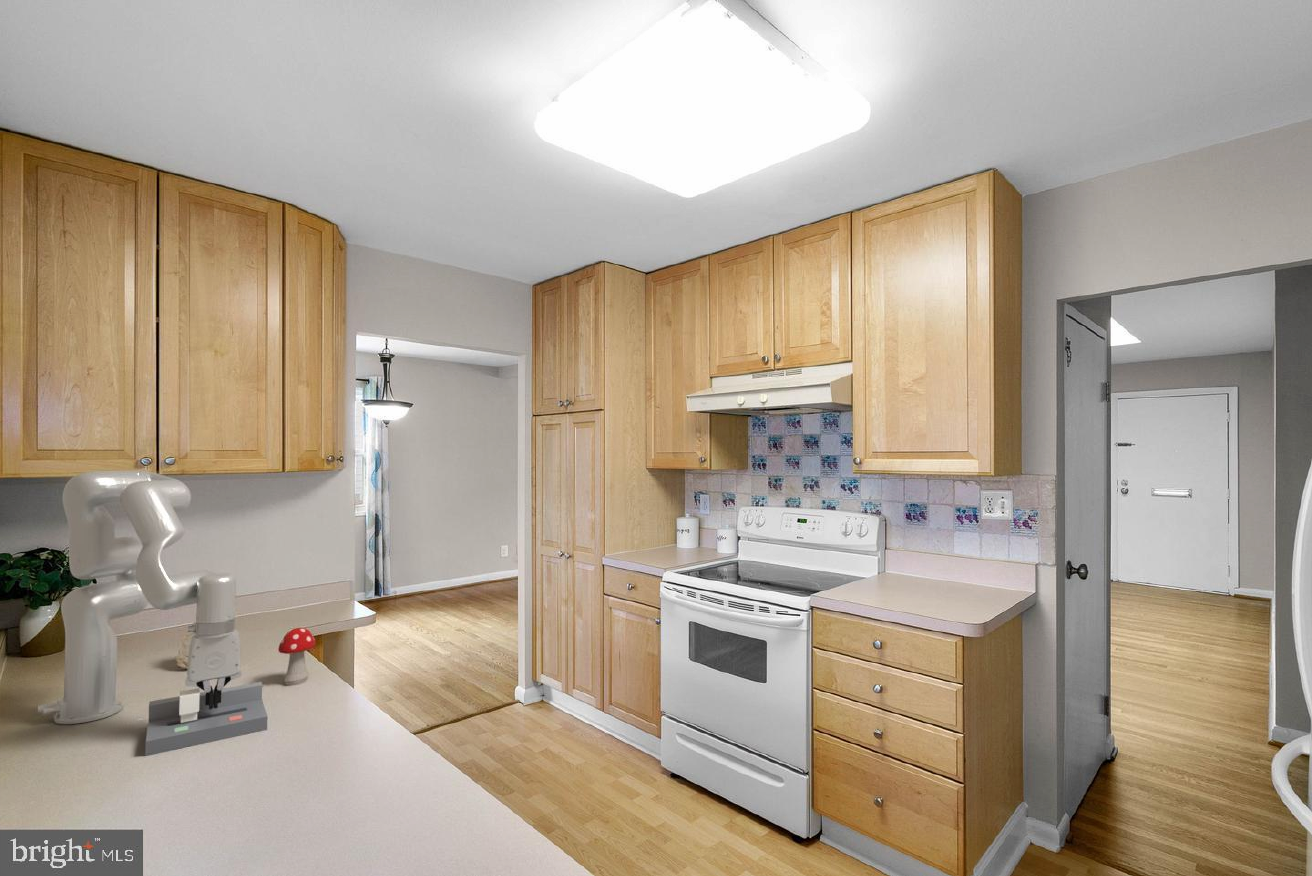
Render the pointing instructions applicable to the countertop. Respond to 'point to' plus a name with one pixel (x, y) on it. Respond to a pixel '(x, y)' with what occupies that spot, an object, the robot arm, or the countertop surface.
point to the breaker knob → (189, 705)
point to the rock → (184, 649)
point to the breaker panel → (206, 719)
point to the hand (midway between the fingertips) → (213, 706)
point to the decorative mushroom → (296, 654)
